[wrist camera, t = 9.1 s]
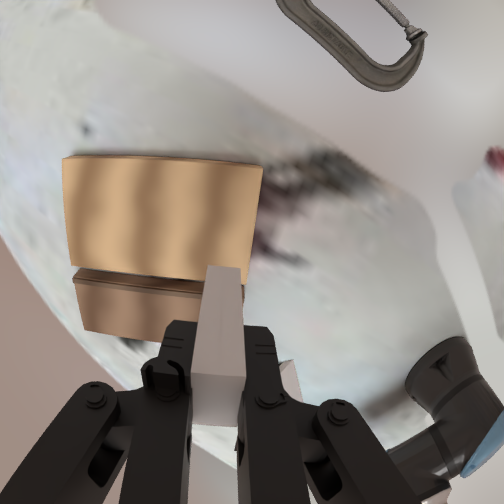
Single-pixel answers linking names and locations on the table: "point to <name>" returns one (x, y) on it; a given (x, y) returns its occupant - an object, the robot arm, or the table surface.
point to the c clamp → (349, 53)
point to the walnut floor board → (135, 303)
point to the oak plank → (159, 214)
